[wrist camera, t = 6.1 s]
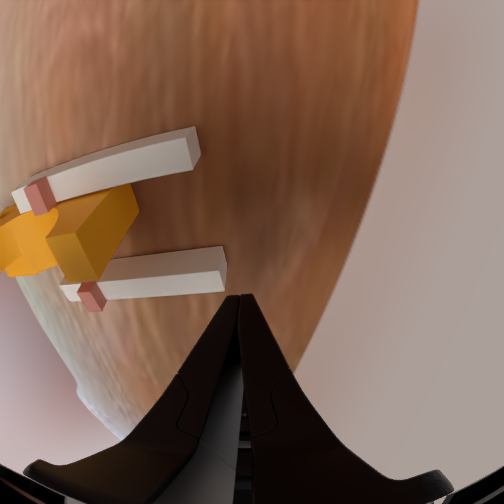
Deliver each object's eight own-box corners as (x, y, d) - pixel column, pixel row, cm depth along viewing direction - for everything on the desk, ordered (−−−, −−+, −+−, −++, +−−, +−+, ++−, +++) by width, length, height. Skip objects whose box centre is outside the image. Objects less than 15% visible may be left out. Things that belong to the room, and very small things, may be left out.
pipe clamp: (28, 251, 19) (-12, 306, 14) (6, 207, 16) (-43, 257, 11) (148, 233, 18) (114, 307, 13) (128, 172, 16) (75, 232, 10)
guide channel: (227, 266, 19) (223, 304, 17) (82, 281, 20) (64, 312, 18) (194, 124, 14) (180, 141, 11) (31, 174, 15) (1, 198, 12)
